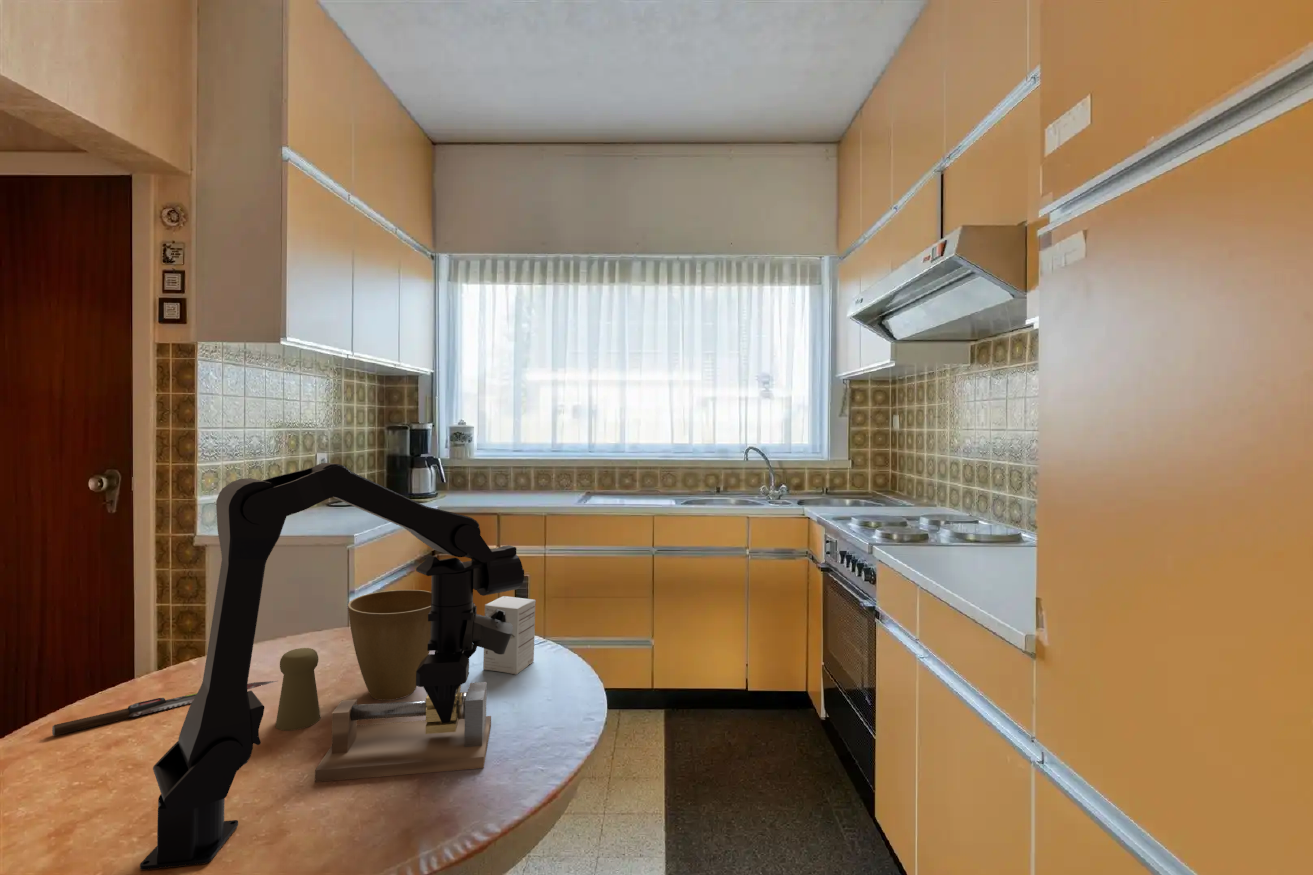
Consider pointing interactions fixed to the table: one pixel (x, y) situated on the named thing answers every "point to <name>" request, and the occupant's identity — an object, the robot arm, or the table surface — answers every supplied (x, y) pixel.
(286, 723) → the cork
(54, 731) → the knife
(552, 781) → the table surface
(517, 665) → the supplement box
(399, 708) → the bolt
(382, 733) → the jig
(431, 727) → the nut
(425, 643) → the plant pot
